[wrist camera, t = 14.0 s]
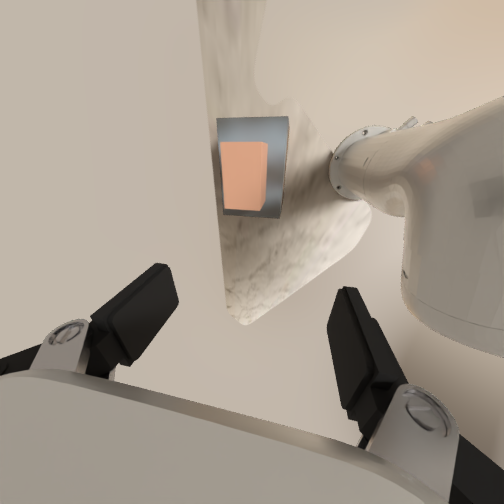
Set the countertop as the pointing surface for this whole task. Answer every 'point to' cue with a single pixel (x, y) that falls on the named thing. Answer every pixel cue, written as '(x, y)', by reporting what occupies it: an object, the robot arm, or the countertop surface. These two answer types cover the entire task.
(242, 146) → the terracotta brick
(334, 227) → the countertop surface
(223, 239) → the countertop surface
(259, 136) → the shiny metal block
